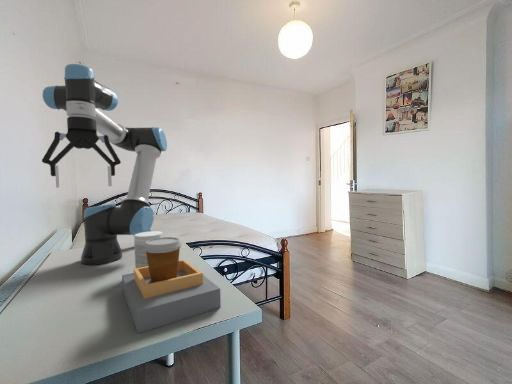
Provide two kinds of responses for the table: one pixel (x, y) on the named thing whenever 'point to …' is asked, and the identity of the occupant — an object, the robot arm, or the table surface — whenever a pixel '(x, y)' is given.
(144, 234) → the supplement tub
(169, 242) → the disposable coffee cup
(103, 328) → the table surface
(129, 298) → the grey platform
